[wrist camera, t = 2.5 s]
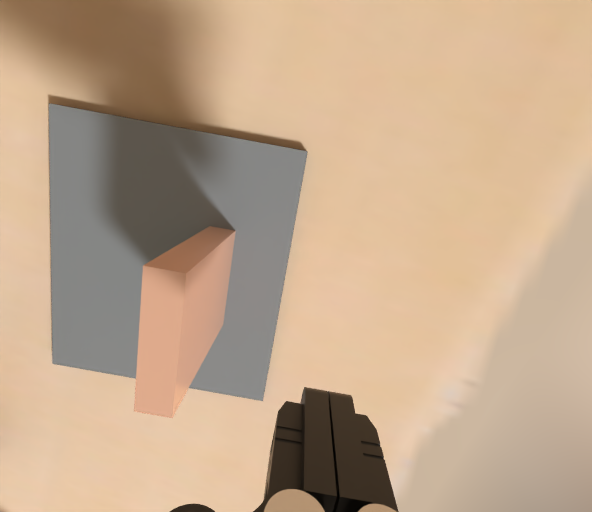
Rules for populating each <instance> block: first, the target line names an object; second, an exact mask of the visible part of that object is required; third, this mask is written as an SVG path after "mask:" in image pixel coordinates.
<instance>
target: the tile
mask: <svg viewBox="0 0 592 512" xmlns="http://www.w3.org/2000/svg"><path fill="white" fill-rule="evenodd" d="M235 232H236V231H234V230H229V229H223V228H218V227H212V226H209V227H208V228H206V229H204V230H202V231H201V232H199V233H197V234H196V235H194V236H192V237H191V238H189V239H187V240H185V241H184V242H182V243H180V244H179V245H177V246H175V247H174V248H172V249H170V250H168V251H167V252H165V253H163V254H162V255H160V256H158V257H157V258H155V259H153V260H152V261H150V262H148V263H146V264H145V265H143V273H142V290H141V306H140V322H139V339H138V355H137V371H136V388H135V404H134V411H135V412H141V413H147V414H152V415H158V416H164V417H169V418H173V416H174V414H175V412H176V410H177V408H178V407H179V405H180V403H181V401H182V399H183V397H184V396H185V394H186V392H187V390H188V388H189V386H190V384H191V383H192V381H193V379H194V377H195V375H196V373H197V372H198V370H199V368H200V366H201V364H202V362H203V361H204V359H205V357H206V355H207V353H208V351H209V350H210V348H211V346H212V344H213V342H214V340H215V339H216V337H217V335H218V333H219V331H220V329H221V328H222V326H223V322H224V315H225V307H226V300H227V292H228V285H229V277H230V270H231V262H232V255H233V247H234V240H235Z"/></svg>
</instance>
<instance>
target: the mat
mask: <svg viewBox="0 0 592 512" xmlns="http://www.w3.org/2000/svg"><path fill="white" fill-rule="evenodd" d="M49 152H50V221H51V290H52V359H53V364H57V365H63V366H68V367H74V368H80V369H85V370H91V371H96V372H102V373H108V374H113V375H119V376H125V377H130V378H136V371H137V355H138V339H139V322H140V306H141V290H142V273H143V265H145V264H146V263H148V262H150V261H152V260H153V259H155V258H157V257H158V256H160V255H162V254H163V253H165V252H167V251H168V250H170V249H172V248H174V247H175V246H177V245H179V244H180V243H182V242H184V241H185V240H187V239H189V238H191V237H192V236H194V235H196V234H197V233H199V232H201V231H202V230H204V229H206V228H208V227H209V226H212V227H218V228H223V229H229V230H234V231H236V232H235V240H234V247H233V255H232V262H231V270H230V277H229V285H228V292H227V300H226V307H225V315H224V322H223V326H222V328H221V329H220V331H219V333H218V335H217V337H216V339H215V340H214V342H213V344H212V346H211V348H210V350H209V351H208V353H207V355H206V357H205V359H204V361H203V362H202V364H201V366H200V368H199V370H198V372H197V373H196V375H195V377H194V379H193V381H192V383H191V384H190V386H189V388H192V389H198V390H203V391H209V392H215V393H220V394H226V395H232V396H237V397H243V398H248V399H254V400H260V401H263V397H264V391H265V386H266V380H267V374H268V369H269V363H270V358H271V352H272V347H273V341H274V336H275V330H276V324H277V319H278V313H279V308H280V302H281V297H282V291H283V285H284V280H285V274H286V269H287V263H288V258H289V252H290V247H291V241H292V235H293V230H294V224H295V219H296V213H297V208H298V202H299V196H300V191H301V185H302V180H303V174H304V169H305V163H306V158H307V151H303V150H297V149H292V148H287V147H281V146H276V145H270V144H265V143H260V142H254V141H249V140H244V139H238V138H233V137H228V136H222V135H217V134H211V133H206V132H201V131H195V130H190V129H185V128H179V127H174V126H168V125H163V124H158V123H152V122H147V121H142V120H136V119H131V118H125V117H120V116H115V115H109V114H104V113H99V112H93V111H88V110H82V109H77V108H72V107H66V106H61V105H56V104H50V103H49Z"/></svg>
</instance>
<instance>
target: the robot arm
mask: <svg viewBox="0 0 592 512" xmlns="http://www.w3.org/2000/svg"><path fill="white" fill-rule="evenodd" d="M383 458H384V456H383V452H382V449H381V447H380V441H379V437H378V434H377V430H376V428H375V427H374V425H373V424H372V423H371V421H370V420H369V418H368V417H367V416H366V415H361V414H355V410H354V404H353V399H352V396H351V395H346V394H341V393H335V392H329V391H328V392H327V391H323V390H318V389H312V388H307V387H304V390H303V394H302V399H301V403H300V404H299V403H294V402H288V401H286V402H285V403H284V405H283V406H282V407H281V409H280V410H279V411H278V415H277V420H276V425H275V430H274V435H273V440H272V445H271V450H270V457H269V464H268V472H267V479H266V486H265V494H264V501H263V502H262V504H261V505H260V506H259V507H258V508H257V509H256V510H255V511H253V512H398V509H397V505H396V501H395V497H394V494H393V490H392V486H391V482H390V479H389V475H388V471H387V467H386V464H385V460H384V459H383ZM170 512H215V511H214V510H212V509H211V508H209V507H207V506H204V505H200V504H186V505H183V506H180V507H177V508H175V509H173V510H172V511H170Z"/></svg>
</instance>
